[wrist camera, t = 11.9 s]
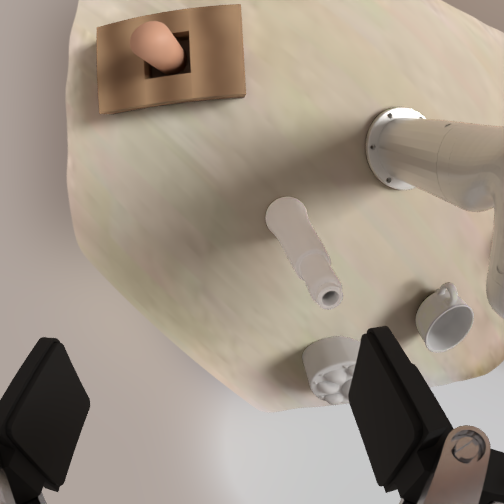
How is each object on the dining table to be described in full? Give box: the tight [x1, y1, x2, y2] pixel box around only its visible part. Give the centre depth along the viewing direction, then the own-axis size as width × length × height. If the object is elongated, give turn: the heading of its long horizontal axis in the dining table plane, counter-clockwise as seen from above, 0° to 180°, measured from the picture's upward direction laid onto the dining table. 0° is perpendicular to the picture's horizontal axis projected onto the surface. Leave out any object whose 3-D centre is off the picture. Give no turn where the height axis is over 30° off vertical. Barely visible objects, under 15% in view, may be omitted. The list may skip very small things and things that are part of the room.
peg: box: [130, 21, 187, 75], centre depth 29 cm, size 4×4×12 cm
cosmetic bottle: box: [265, 197, 343, 309], centre depth 35 cm, size 6×6×22 cm
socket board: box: [97, 4, 246, 114], centre depth 33 cm, size 18×12×5 cm, turn 93°
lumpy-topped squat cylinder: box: [302, 336, 361, 405], centre depth 52 cm, size 10×13×9 cm
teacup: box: [416, 282, 474, 353], centre depth 49 cm, size 14×11×8 cm
